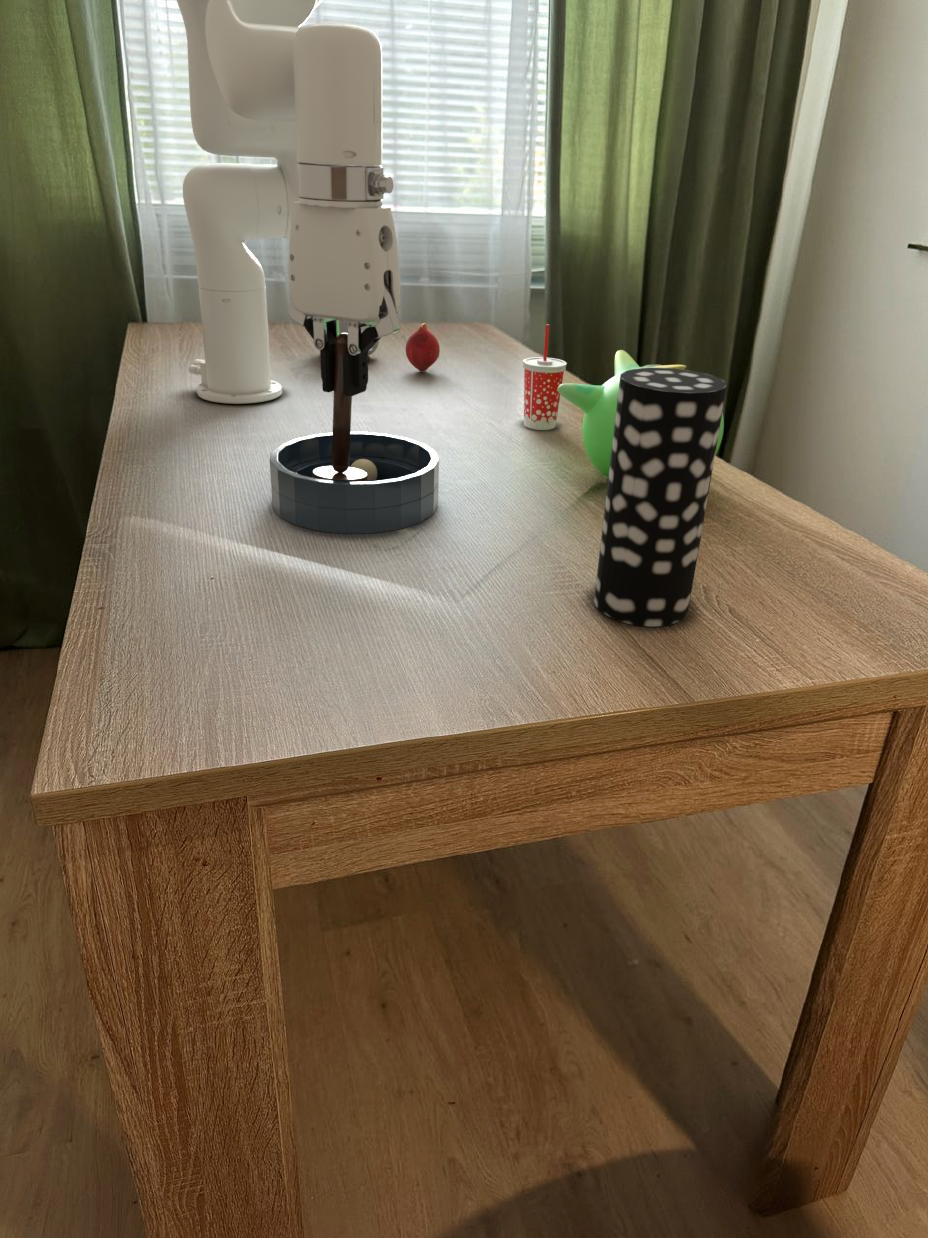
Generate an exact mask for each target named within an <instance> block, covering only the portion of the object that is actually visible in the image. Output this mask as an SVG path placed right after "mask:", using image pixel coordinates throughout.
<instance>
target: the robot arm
mask: <svg viewBox="0 0 928 1238" xmlns="http://www.w3.org/2000/svg"><path fill="white" fill-rule="evenodd" d="M322 2H323V0H176V3H177V4H178V8H179V11H180V14H181V17H182V21H183V24H184V29H185V33H186V34H185V35H186V45H187V46H186V47H187V66H188V67H187V69H188V87H189V88H188V89H189V90H188V91H189V109H190V110H189V111H190V120H191V121H190V122H191V128H192V133H193V137H194V140H195V142H196V144H197V146H198V147H200V148H201V150H203V151H205V152H207V153H209V154H212V155H217V156H225V157H242V158H243V157H246V158H268V159H269V158H271V159H275V160H277V162H276V164H255V163H252V164H251V163H240V162H239V163H236V162H231V163H230V162H229V163H228V162H212V163H211V162H210V163H204V164H200V165H196V166H194V167H193V168H191V169H190V170H189V171H188V172H186V174H185V176H184V179H183V182H182V199H183V204H184V208H185V213H186V217H187V222H188V226H189V230H190V234H191V241H192V245H193V246H192V247H193V251H194V258H195V259H194V260H195V269H196V277H197V287H198V297H199V300H198V301H199V308H200V309H199V310H200V320H201V332H202V342H203V354H204V359H200V358H199V359H198V358H196V359H194V360H193V362H192V364H190V365H189V367H188V372H189V374H190V375H195V376H200V378H201V383H199V384H198V385H197V386H196V393H197V396H198V397H199V398H201V399H202V400H205V401H208V402H211V403H217V404H227V405H229V404H230V405H232V404H233V405H244V404H257V403H258V404H259V403H264V402H268V401H272V400H275V399H277V398H279V397H280V396H281V395H282V394H283V386H282V385H281V384H280V383H279V382H277V381H275V380H272V372H271V371H272V369H271V355H270V337H269V321H268V303H267V287H266V286H267V285H266V275H265V272H264V269H263V266H262V265H261V263H260V261H259V260H258V258H257V257H256V256H255V255H254V254H253V253H252V252H251V250H250V249H249V248H248V246H246V244H245V241H247V240H254V239H289V244H288V245H289V246H288V289H289V297H290V306H289V310H288V317H289V319H290V320H291V321H293V322H295V323H296V324H297V325H299V326H302V327H303V328H305V330H306V332H307V333H308V334H309V336H310V337H311V338H312V340H313V345H314V348H315V349H316V350H318V351H319V355H320V357H319V358H320V378H321V384H322V385H321V386H322V391H323V392H325V393H332V392H334V367H335V340H336V338H337V336H338V335H339V334H340V321H339V320H346V321H347V332H348V354H345V355H344V356H343V388H344V394H345V395H346V396H352V397H353V396H356V395H359V394H362V393H365V392H366V391H367V389H368V388H367V387H368V383H369V358H368V351H371V350H372V349H373V346H374V345H375V344H376V343H377V342H378V341H379V342H380V340H381V339H382V338H383V337H387V336H391V335H393V334H396V333H398V332H400V331H401V323H400V320H399V317H398V314H399V312H400V309H401V274H400V259H399V250H398V240H397V233H396V227H395V222H394V218H393V212H392V207H391V206H389V205H383V200H384V194H391V193H392V192H393V190H394V180H393V178H392V176H385V174H384V167H383V51H382V49H383V47H382V43H381V40H380V38H379V37H378V35H377V34H376V33H375V31H373V30H371V29H370V28H367V27H365V26H360V25H355V24H346V23H333V22H332V23H331V22H329V23H328V22H327V23H325V22H319V23H310V24H305V23H306V22H307V21H308V19H310V16H311V15H312V13H313V12H314V10H315V9H316V8H318V6H319V5H320V4H321V3H322ZM303 24H305V25H303ZM302 25H303V26H302ZM378 318H379V321H378V323H376V324H375V322H374V321H376V320H377V319H378Z"/></svg>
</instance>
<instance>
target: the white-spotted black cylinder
mask: <svg viewBox="0 0 928 1238" xmlns="http://www.w3.org/2000/svg"><path fill="white" fill-rule="evenodd" d="M727 387H728V384H727V382H726V381H725V380H724V379H722V378H720V377H717V376H715V375H712V374H709V373H704V372H700V371H696V370H689V369H673V368H639V369H632V370H628V371H625V372H623V373H622V374H621V375H620V383H619V391H618V400H617V408H616V417H615V425H614V434H613V442H612V451H611V460H610V468H609V477H608V478H607V486H606V493H605V494H606V495H605V503H604V511H603V519H602V520H603V521H602V528H601V537H600V545H599V555H598V564H597V571H596V580H595V588H594V589H595V590H594V596H593V603H594V605H595V607H596V608H597V610H599V611H600V612H601V613H602V614H603V615H605V616H607V617H609V618H611V619H613V620H615V621H617V622H621V623H624V624H628V625H633V626H640V627H663V626H664V627H665V626H670V625H674V624H677V623H680V622H681V621H683V620H684V619H685V618H686V617H687V615H688V614H689V609H690V603H691V597H692V592H693V585H694V580H695V575H696V570H697V569H696V568H697V562H698V557H699V550H700V546H701V545H700V544H701V538H702V533H703V528H704V522H705V515H706V510H707V504H708V499H709V493H710V486H711V481H712V476H713V471H714V464H715V458H716V455H715V452H716V446H717V441H718V435H719V429H720V423H721V417H722V412H724V404H725V400H726V394H727V392H726V391H727Z"/></svg>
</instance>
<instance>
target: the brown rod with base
mask: <svg viewBox="0 0 928 1238" xmlns="http://www.w3.org/2000/svg"><path fill="white" fill-rule="evenodd" d="M345 354H348V334H347V333H341V334H339V335H338V336H337V338H336V340H335V367H334V391H333V406H332V432H331V433H332V466H324V467H319V468H316V469H314V470H313V472H312V478H316V479H320V480H331V481H342V482H367V473H366V472H365V471H363V470H360V469H357V468H352V467H349V459H350V433H351V432H352V431H351V430H352V429H351V428H352V401H353V396H346V395H345V394H344V388H343V356H344V355H345Z"/></svg>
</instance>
